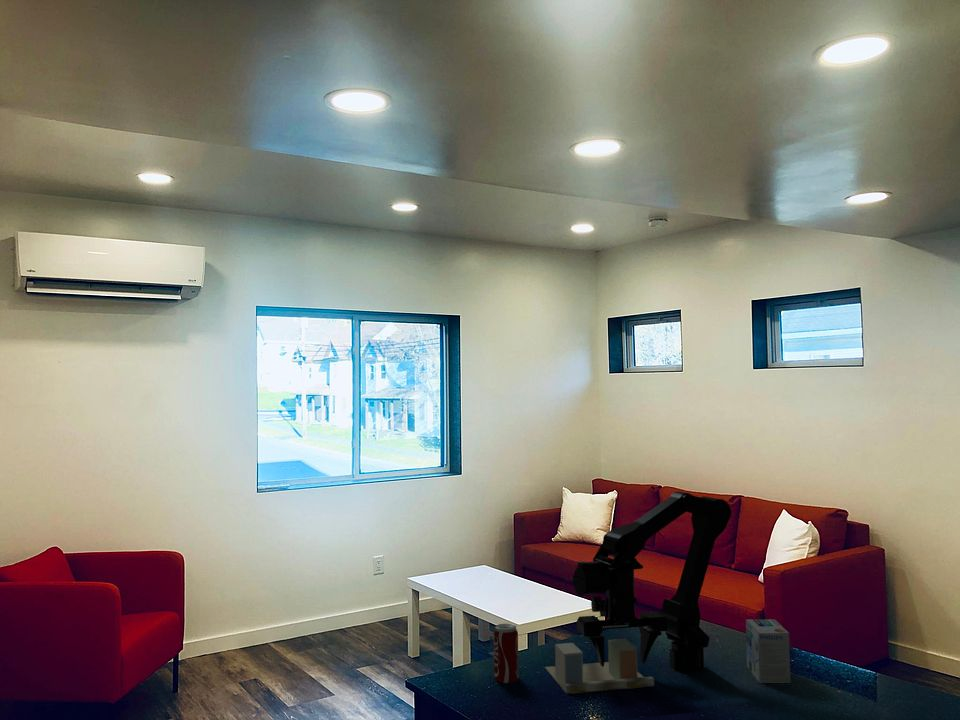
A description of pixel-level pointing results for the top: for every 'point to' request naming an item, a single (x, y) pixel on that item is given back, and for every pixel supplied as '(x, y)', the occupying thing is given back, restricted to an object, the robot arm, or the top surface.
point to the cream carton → (568, 663)
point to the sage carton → (622, 659)
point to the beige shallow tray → (601, 680)
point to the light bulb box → (768, 651)
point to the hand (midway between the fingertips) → (622, 664)
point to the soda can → (505, 653)
